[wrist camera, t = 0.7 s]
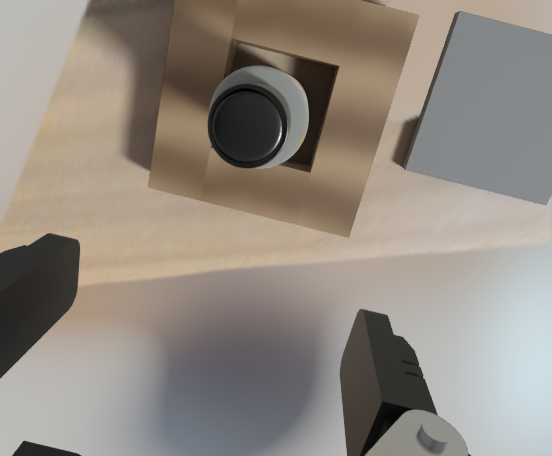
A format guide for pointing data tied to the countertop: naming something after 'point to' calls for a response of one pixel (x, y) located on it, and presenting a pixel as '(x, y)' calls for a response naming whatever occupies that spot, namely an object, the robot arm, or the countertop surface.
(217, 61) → the block
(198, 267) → the countertop surface
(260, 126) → the lotion bottle
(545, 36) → the rubber mat
